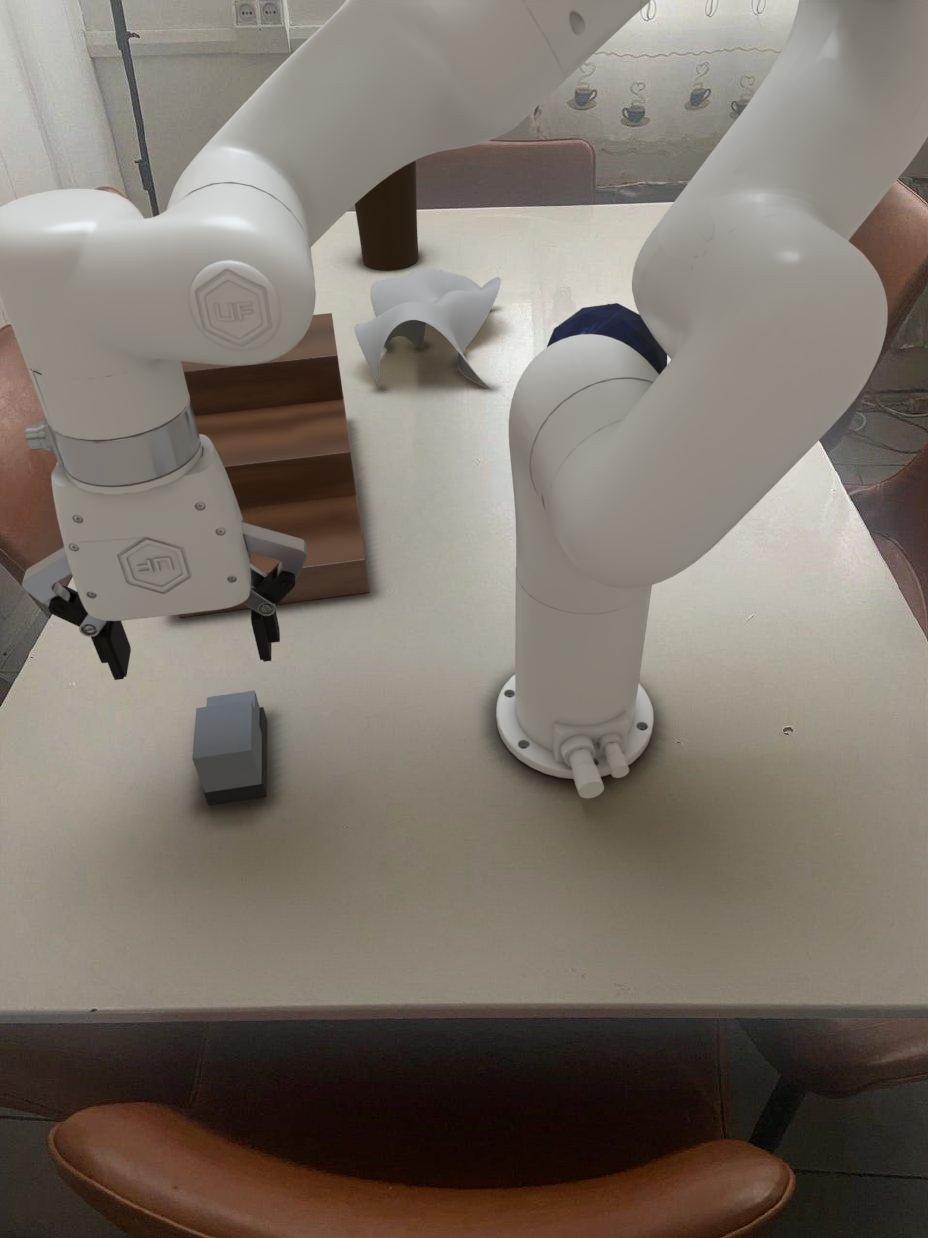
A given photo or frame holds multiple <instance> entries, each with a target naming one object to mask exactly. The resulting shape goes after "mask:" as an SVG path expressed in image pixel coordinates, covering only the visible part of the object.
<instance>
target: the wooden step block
mask: <svg viewBox="0 0 928 1238" xmlns="http://www.w3.org/2000/svg"><path fill="white" fill-rule="evenodd" d="M333 319H334V318H333V313H332V312H328V313H327V312H326V313H319V314H318V313H317V314H313V318H312V321H311V323H310V326H309V328H308V330H307V332H306V333H305V335H304V337H303V338H302V339H301V340H300V342H299V343H298V344H297V345H296V346H295V347H294V348H293V349H291V350H290V351H289V352H287V353H286V354H284V355H282V356H280V357H279V358H276V359H274V360H271V361H268V362H264V363H260V364H255V365H243V366H229V365H213V364H203V363H194V362H185V361H181V364H182V368H183V372H184V376H185V380H186V384H187V388H188V392H189V396H190V400H191V404H192V408H193V412H194V416H195V420H196V424H197V428H198V432H199V434H203V435H206V436H207V437H208V438H209V439H210V440H211V442H212V443H213V445H214V447H215V449H216V451H217V453H218V455H219V457H220V459H221V461H222V463H223V466H224V468H225V470H226V473H227V475H228V478H229V480H230V483H231V486H232V488H233V491H234V494H235V497H236V500H237V503H238V506H239V509H240V512H241V515H242V518H243V521H244V523H248V524H251V525H255V526H258V527H262V528H265V529H269V530H272V531H276V532H279V533H283V534H286V535H290V536H293V537H297V538H300V539H303V540H304V541H305V542H306V546H307V558H306V560H305V562H304V565H303V567H302V569H301V571H300V573H299V575H298V576H297V579H296V581H295V586H294V588H293V589H292V590H291V591H290V592H289V593H288V594H287V595H286V596H285V597H284V598H283V599H282V600H281V601H280V602H279V603H278V604H277V605H282V604H283V605H284V604H291V603H298V602H305V601H312V600H313V601H314V600H322V599H328V598H336V597H337V598H338V597H344V596H350V595H358V594H365V593H370V583H369V575H368V569H367V561H366V555H365V546H364V538H363V531H362V523H361V518H360V517H361V516H360V509H359V501H358V494H357V486H356V478H355V472H354V464H353V457H352V449H351V441H350V435H349V427H348V420H347V419H348V418H347V413H346V406H345V398H344V391H343V384H342V377H341V370H340V362H339V361H340V360H339V355H338V349H337V348H338V347H337V341H336V334H335V326H334V320H333ZM249 562H250V563H251V564H252V565H254V566H255V567H257V568H258V569H260V570H261V571H263V572H264V573H266V574H267V575H268V574H269V573H270V572H271V571H272V570H273V569H274V568H275V566H276V565H277V564H278V563H280V560H278V559H274V558H271V557H267V556H263V555H260V554H256V553H252V552H251V558H250V561H249ZM246 609H250V608H249V607H247V606H246V605H244V604H243V603H241V604H238V605H236V606H233V607H229V608H225V609H218V610H211V611H202V612H194V613H186V614H178V618H186V617H193V616H201V615H208V614H209V615H210V614H215V613H223V612H231V611H238V610H239V611H240V610H246Z"/></svg>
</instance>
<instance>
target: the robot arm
mask: <svg viewBox="0 0 928 1238" xmlns="http://www.w3.org/2000/svg"><path fill="white" fill-rule="evenodd" d="M651 1H652V0H345V1H344V3H343V4H342V5H341V6H340V7H339V8H338V9H337V10H336V11H335V12H334V14H332V16H330V17H329V19H328V20H327V21H326V22H325V23H324V24H323V25H321V26H320V27H319V28H318V29H317V30H316V31H315V32H314V33H313V34H312V35H310V36H309V38H307V40H305V41H304V42H303V43H302V44H301V45H300V46H299V47H298V48H297V49H295V51H294V52H293V53H291V54H290V56H289V57H288V58H287V59H285V60H284V61H283V63H281V65H280V66H278V67H277V69H276V70H274V71H273V73H271V75H270V76H269V77H268V78H267V79H265V80H264V82H263V83H262V84H261V85H260V86H259V87H258V88H257V89H256V90H255V91H254V93H252V95H250V96H249V98H248V99H247V100H246V101H245V102H244V103H243V104H242V105H241V106H240V107H239V109H238V110H237V111H235V112H234V114H233V115H232V116H231V117H230V118H229V120H227V122H226V123H224V124H223V126H222V127H221V128H220V129H219V130H217V132H216V133H215V134H214V136H212V137H211V139H209V141H208V142H207V143H206V144H205V145H204V146H203V147H202V148H201V150H200V151H199V152H198V153H197V154H196V155H195V157H194V158H193V159H192V160H191V161H190V163H189V164H188V165H187V166H186V168H185V169H184V170H183V172H182V174H180V177H179V178H178V180H177V181H176V184H174V187H173V190H172V192H171V195H170V198H169V201H168V204H167V206H166V210H164V211H163V212H161V213H160V214H158V215H155V216H153V217H146V218H145V217H144V216H143V214H142V212H141V211H140V210H139V208H138V207H137V206H136V205H134V204H133V202H131V201H130V200H129V199H127V198H126V197H123V196H122V195H120V194H118V193H115V192H112V191H107V190H101V189H95V188H94V189H93V188H63V189H62V188H61V189H55V190H48V191H47V190H46V191H43V192H37V193H33V194H29V195H25V196H22V197H19V198H16V199H14V200H12V201H9V202H7V203H5V204H3V205H2V206H0V299H1V301H2V304H3V306H4V310H5V312H6V315H7V317H8V320H9V322H10V325H11V328H12V330H13V333H14V337H15V339H16V341H17V343H18V348H19V350H20V353H21V355H22V357H23V361H24V364H25V366H26V368H27V371H28V374H29V376H30V379H31V381H32V384H33V388H34V390H35V393H36V395H37V398H38V401H39V403H40V407H41V409H42V412H43V414H44V417H45V419H44V420H41V421H39V422H38V423H36V424H35V423H34V424H26V425H25V427H24V438H25V442H26V444H27V447H28V448H29V449H30V450H44V451H47V452H49V451H50V452H51V453H52V454H53V455H54V457H55V458H56V461H57V462H56V463H55V466H54V468H53V470H52V472H51V474H50V480H51V487H52V488H51V489H52V496H53V503H54V508H55V513H56V518H57V522H58V527H59V531H60V536H61V539H62V540H61V541H62V544H63V547H61V548H60V549H58V550H55V552H53V553H51V554H50V555H48V556H46V557H45V558H43V559H42V560H39V561H38V562H36V563H35V564H33V565H31V566H30V567H28V568H27V569H26V570H25V573H24V576H23V579H22V582H21V588H22V589H24V590H25V592H27V593H28V594H29V595H31V596H32V597H33V598H35V599H36V600H37V601H38V602H40V603H41V604H42V605H46V606H47V607H48V608H47V609H48V612H49V613H50V614H51V615H53V616H55V617H57V618H59V619H61V620H63V621H66V622H68V623H69V624H72V625H74V626H76V627H78V631H79V633H80V634H81V635H82V636H84V637H88V638H90V639H91V641H92V644H93V647H94V649H95V651H96V654H97V656H98V659H99V661H100V663H101V664H107V665H108V667H109V670H110V672H111V675H112V677H113V679H114V681H119V680H124V679H125V678H126V677H127V676H128V670H129V663H130V658H131V653H132V648H131V643H130V642H129V638H128V635H127V633H126V631H125V627H124V625H123V622H122V621H131V620H142V619H151V618H160V617H168V616H176V615H178V614H186V613H194V612H202V611H211V610H218V609H225V608H229V607H233V606H236V605H238V604H241V603H243V604H244V605H246V606H247V607H249V608H248V609H250V622H251V627H252V631H253V636H254V640H255V645H256V648H257V652H258V657H259V661H263V662H272V647H273V646H272V644H274V643H280V642H281V632H280V624H279V619H278V615H277V611H276V610H277V609H276V608H277V607H276V606H277V605H279V604H278V603H279V602H280V601H281V600H282V599H283V598H284V597H285V596H286V595H287V594H288V593H289V592H290V591H291V590H292V589H293V588H294V586H295V581H296V579H297V576H298V575H299V573H300V571H301V569H302V567H303V565H304V562H305V560H306V558H307V546H306V542H305V541H304V540H303V539H300V538H297V537H293V536H290V535H286V534H283V533H279V532H276V531H272V530H269V529H265V528H262V527H258V526H255V525H251V524H248V523H244V521H243V518H242V515H241V512H240V509H239V506H238V503H237V500H236V497H235V494H234V491H233V488H232V486H231V483H230V480H229V478H228V475H227V473H226V470H225V468H224V466H223V463H222V461H221V459H220V457H219V455H218V453H217V451H216V449H215V447H214V445H213V443H212V442H211V440H210V439H209V438H208V437H207V436H206V435H203V434H199V432H198V428H197V424H196V420H195V416H194V412H193V408H192V404H191V400H190V396H189V392H188V388H187V384H186V380H185V376H184V372H183V368H182V364H181V361H185V362H194V363H203V364H213V365H229V366H243V365H255V364H260V363H264V362H268V361H271V360H274V359H276V358H279V357H280V356H282V355H284V354H286V353H287V352H289V351H290V350H291V349H293V348H294V347H295V346H296V345H297V344H298V343H299V342H300V340H301V339H302V338H303V337H304V335H305V333H306V332H307V330H308V328H309V326H310V323H311V321H312V318H313V315H314V313H315V307H316V298H317V297H316V295H317V292H316V291H317V290H316V279H315V271H314V264H313V257H312V255H313V254H312V247H313V246H314V245H315V244H316V243H317V242H318V241H319V240H320V239H321V238H322V237H323V236H324V235H325V234H326V233H327V231H329V230H330V229H331V228H332V226H334V225H335V224H336V223H337V222H338V221H339V220H340V219H341V218H342V217H343V216H345V214H347V212H348V211H350V209H351V208H352V207H353V206H355V203H357V202H358V201H359V200H360V199H361V198H362V197H363V196H364V195H365V194H367V193H368V192H369V191H370V190H371V189H373V188H374V187H375V186H376V185H377V184H379V183H380V182H381V181H383V180H384V179H385V178H387V177H388V176H390V175H391V174H392V173H394V172H396V171H397V170H399V169H400V168H402V167H404V166H405V165H407V164H409V163H411V162H413V161H415V160H416V161H417V160H420V159H422V158H424V157H426V156H429V155H433V154H437V153H439V152H445V151H450V150H451V151H452V150H456V149H457V150H458V149H463V148H464V149H465V148H469V147H473V146H477V145H481V144H484V143H486V142H490V141H492V140H494V139H496V138H500V137H501V136H503V135H505V134H508V133H509V132H510V131H513V130H514V129H516V128H517V126H519V125H520V124H521V123H522V122H523V121H525V119H526V118H527V117H529V116H530V114H532V113H533V111H535V110H536V109H537V108H538V107H539V105H541V104H542V103H543V102H544V101H545V100H546V99H548V97H549V96H550V95H552V94H553V92H555V91H556V90H557V89H558V88H559V87H561V85H562V84H563V83H564V82H565V81H566V80H568V78H569V77H571V76H572V75H573V74H574V73H575V72H576V71H577V70H578V69H579V68H580V67H581V66H583V64H585V62H587V61H588V60H589V59H590V58H591V57H593V55H594V54H595V53H596V52H598V51H599V50H600V48H602V46H603V45H605V44H606V43H607V42H608V41H609V40H610V39H611V38H612V37H613V36H615V34H616V33H618V32H619V31H620V30H621V29H622V28H623V27H624V26H625V25H627V23H629V21H630V20H632V19H633V17H635V16H636V15H637V14H638V13H639V12H640V11H641V10H642V9H644V8H645V7H646V6H647V5H648V4H649V3H650V2H651ZM927 139H928V0H798V3H797V9H796V12H795V16H794V19H793V21H792V25H791V28H790V31H789V34H788V36H787V38H786V41H785V43H784V45H783V47H782V49H781V51H780V54H779V55H778V57H777V59H776V60H775V62H774V64H773V65H772V67H771V69H770V71H768V73H767V75H766V76H765V78H764V80H763V81H762V83H761V84H760V86H759V87H758V89H757V90H756V92H755V93H754V95H753V96H752V97H751V99H750V100H749V102H748V103H747V105H746V106H745V107H744V109H743V110H742V112H741V113H740V114H739V116H738V117H737V118H736V120H735V121H734V122H733V124H732V125H731V126H730V128H729V129H728V130H727V131H726V133H725V134H724V135H723V137H722V138H721V139H720V141H719V142H718V143H717V145H716V146H715V147H714V148H713V150H712V151H711V152H710V154H709V155H708V156H707V157H706V159H705V160H704V162H703V163H702V165H701V166H700V167H699V168H698V170H697V171H696V173H694V175H693V176H692V178H691V179H690V180H689V181H688V183H687V184H686V186H685V187H684V189H683V190H682V191H681V192H680V194H679V195H678V196H677V198H676V199H675V200H674V201H673V203H672V204H671V206H670V207H669V208H668V209H667V210H666V212H665V213H664V215H663V216H662V217H661V218H660V220H659V221H658V223H657V224H656V225H655V226H654V228H653V229H652V231H651V232H650V233H649V235H648V237H646V239H645V241H644V243H643V244H642V246H641V248H640V250H639V252H638V254H637V257H636V260H635V261H634V266H633V269H632V277H631V291H632V296H633V297H632V298H633V301H634V305H635V308H636V309H637V311H638V312H637V313H638V314H639V315H640V316H641V318H642V319H643V321H644V323H645V324H646V326H647V327H648V329H649V330H650V332H651V333H652V335H653V336H654V338H655V339H656V341H657V342H658V343H659V345H660V346H661V347H662V349H663V350H664V351H665V352H666V354H667V357H668V358H669V359H670V361H669V362H667V366H666V367H665V369H664V370H663V371H662V372H661V374H660V375H659V374H658V373H657V371H656V370H655V369H654V368H653V367H652V366H651V364H650V363H649V362H648V361H647V360H646V359H645V358H644V357H643V356H641V355H640V354H639V353H638V352H637V351H635V350H634V349H633V348H631V347H630V346H628V345H626V344H625V343H623V342H621V341H619V340H616V339H613V338H611V337H607V336H603V335H594V334H582V335H576V336H571V337H568V338H565V339H562V340H559V341H557V342H555V343H553V344H551V345H550V346H548V347H547V346H546V347H547V348H546V347H545V348H543V350H542V351H540V352H539V353H538V354H537V355H535V357H534V358H533V359H532V360H531V361H530V363H529V364H527V366H526V368H525V369H524V371H523V372H522V374H521V375H520V378H519V380H518V381H517V383H516V387H515V388H514V391H513V395H512V398H511V402H510V408H509V415H508V446H509V447H508V448H509V457H510V458H509V459H510V468H511V479H512V488H513V489H512V490H513V502H514V515H515V516H514V517H515V518H514V519H515V560H516V561H515V629H514V630H515V631H514V633H515V635H514V636H515V637H514V638H515V640H514V641H515V645H514V646H515V649H514V651H515V658H514V659H515V661H514V662H515V663H514V665H515V666H514V667H515V668H514V669H515V671H514V674H513V675H511V676H510V677H509V679H508V680H507V681H506V682H505V684H504V685H503V686H502V689H501V690H500V692H499V694H498V698H497V701H496V706H495V707H496V708H495V710H496V711H495V718H496V727H497V731H498V733H499V736H500V738H501V741H502V742H503V744H504V745H505V746H506V748H507V749H508V751H509V752H510V753H512V755H514V757H516V758H517V759H518V760H519V761H520V762H522V763H524V764H525V765H527V767H529V768H531V769H534V770H536V771H538V772H540V773H542V774H545V775H549V776H553V777H556V778H560V779H571V780H573V782H574V785H575V788H576V791H577V794H578V795H579V797H580V798H583V799H593V798H596V797H598V796H600V795H601V794H602V793H603V792H604V790H605V785H604V782H603V780H602V777H606V776H609V775H611V777H613V778H615V779H620V778H624V777H626V776H627V775H628V774H629V772H630V767H629V765H631V764H633V763H634V762H635V761H636V760H637V759H638V758H640V756H641V755H642V754H643V753H644V751H645V750H646V748H647V747H648V745H649V743H650V739H651V737H652V735H653V728H654V721H655V720H654V718H655V717H654V707H653V704H652V701H651V698H650V697H649V694H648V693H647V692H646V690H645V688H644V687H643V686H642V685H641V684H640V676H641V669H642V662H643V655H644V654H643V653H644V647H645V640H646V634H647V633H646V632H647V625H648V619H649V609H650V604H651V596H652V587H653V585H656V584H659V583H662V582H664V581H667V580H668V579H671V578H673V577H675V576H676V575H678V574H680V573H682V572H683V571H686V570H687V569H688V568H689V567H691V566H692V565H694V564H695V563H696V562H698V561H699V560H700V559H701V558H703V557H704V556H705V555H706V554H707V553H709V552H710V551H711V550H713V548H714V547H715V546H717V544H718V543H720V541H722V540H723V538H724V537H726V535H728V534H729V532H731V530H732V529H734V528H735V527H736V525H738V524H739V523H740V521H742V520H743V518H745V517H746V516H747V514H748V513H750V511H752V509H754V507H755V506H757V504H758V503H760V501H761V500H762V499H763V498H764V497H765V496H766V495H767V494H768V493H769V492H770V491H771V490H772V489H773V488H774V487H775V486H776V485H777V484H778V483H779V482H780V481H781V480H782V479H783V478H784V477H786V475H787V474H788V473H789V472H790V471H791V470H792V469H793V468H794V467H795V466H796V464H798V462H799V461H800V460H801V459H803V457H805V455H806V454H807V453H808V452H809V451H810V450H811V449H812V448H813V447H814V446H815V445H816V444H817V443H818V442H819V441H820V440H821V439H822V438H823V437H824V436H825V435H826V434H827V432H829V431H830V430H831V428H832V427H833V426H834V425H835V424H836V423H837V421H838V420H840V418H841V417H842V416H843V415H844V414H845V413H846V412H847V411H848V409H849V408H850V407H851V406H852V404H853V403H854V402H855V401H856V399H857V398H858V396H859V395H860V393H861V392H862V390H863V389H864V387H865V385H866V384H867V382H868V380H869V379H870V376H871V374H872V372H873V370H874V368H875V366H876V365H877V362H878V360H879V357H880V354H881V352H882V349H883V345H884V342H885V338H886V334H887V327H888V318H889V317H888V316H889V315H888V313H889V312H888V307H889V306H888V300H887V296H886V290H885V287H884V285H883V282H882V279H881V278H880V275H879V273H878V271H877V269H876V268H875V267H874V266H873V264H872V263H871V262H870V260H869V258H867V256H866V255H865V254H864V253H863V252H862V251H861V250H859V248H857V247H856V246H855V245H854V244H853V243H851V242H850V239H851V238H852V237H853V236H854V234H855V233H856V232H857V230H858V229H859V228H860V227H861V226H862V224H863V223H864V222H865V221H866V219H868V217H869V216H870V214H871V213H872V212H873V211H874V210H875V208H876V207H877V206H878V204H879V203H880V202H881V201H882V199H883V198H884V197H885V195H887V194H888V192H889V190H890V189H891V188H892V187H893V185H894V184H895V183H896V182H897V180H898V179H899V178H900V177H901V176H902V174H903V173H904V172H905V171H906V169H907V168H908V167H909V165H910V164H911V162H912V161H913V160H914V159H915V157H916V156H917V154H918V152H919V151H920V150H921V148H922V146H923V145H924V143H925V142H926V140H927ZM251 552H252V553H256V554H260V555H263V556H267V557H271V558H274V559H278V560H280V563H278V564H277V565H276V566H275V568H274V569H273V570H272V571H271V572H270V573H269V574H268V575H267V574H266V573H264V572H263V571H261V570H260V569H258V568H257V567H255V566H254V565H252V564H251V563H250V562H249V561H250V558H251ZM70 575H71V576H72V579H73V582H74V586H75V588H76V590H75V589H73V588H71V587H69V586H66V585H62V582H60V581H62V580H64V579H65V578H67V577H68V576H70Z"/></svg>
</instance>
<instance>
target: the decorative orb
mask: <svg viewBox="0 0 928 1238" xmlns="http://www.w3.org/2000/svg"><path fill="white" fill-rule="evenodd" d="M582 334H594V335H603V336H607V337H611V338H613V339H616V340H619V341H621V342H623V343H625V344H626V345H628V346H630V347H631V348H633V349H634V350H635V351H637V352H638V353H639V354H640V355H641V356H643V357H644V358H645V359H646V360H647V361H648V362H649V363H650V364H651V366H652V367H653V368H654V369H655V370H656V371H657V373H658V374H659V375H660V374H661V372H662V371H663V370H664V369H665V367H666V366H667V365H668V355H667V354H666V352H665V351H664V350H663V349H662V347H661V346H660V345H659V343H658V342H657V341H656V339H655V338H654V336H653V335H652V333H651V332H650V330H649V329H648V327H647V326H646V324H645V323H644V321H643V319H642V318H641V316H640V314H639V313H638V312H636V311H633V310H632V309H630V308H628V307H626V306H624V305H622V304H621V303H618V302H615V303H607V304H601V305H592V306H585V307H581V308H580V309H578V311H576V312H575V313H574V314H572V315H571V316H569V317H568V318H566V319H565V320H564V321H563V322H561V323H559V324H558V325H557V326H556V327H554V328H553V329H552V333H551V335H550V338H549V340H548V343H547V344H546V347H545V348H547V347H548V346H550V345H551V344H553V343H555V342H557V341H559V340H562V339H565V338H568V337H571V336H576V335H582Z"/></svg>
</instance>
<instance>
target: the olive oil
mask: <svg viewBox="0 0 928 1238" xmlns="http://www.w3.org/2000/svg"><path fill="white" fill-rule="evenodd" d="M416 161H417V160H415V161H413V162H411V163H409V164H407V165H405V166H404V167H402V168H400V169H399V170H397V171H396V172H394V173H392V174H391V175H390V176H388V177H387V178H385V179H384V180H383V181H381V182H380V183H379V184H377V185H376V186H375V187H374V188H373V189H371V190H370V191H369V192H368V193H367V194H365V195H364V196H363V197H362V198H361V199H360V200H359V201H358V202H357V203H355V204H354V209H355V216H356V221H357V229H358V236H359V242H360V251H361V256H362V257H361V259H362V263H363V265H365V266H366V267H368V268H370V269H373V270H381V271H392V270H400V269H404V268H407V267H411V266H412V265H414V264H416V263H417V261H418V260H419V240H418V209H417V208H418V207H417V162H416Z"/></svg>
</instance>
